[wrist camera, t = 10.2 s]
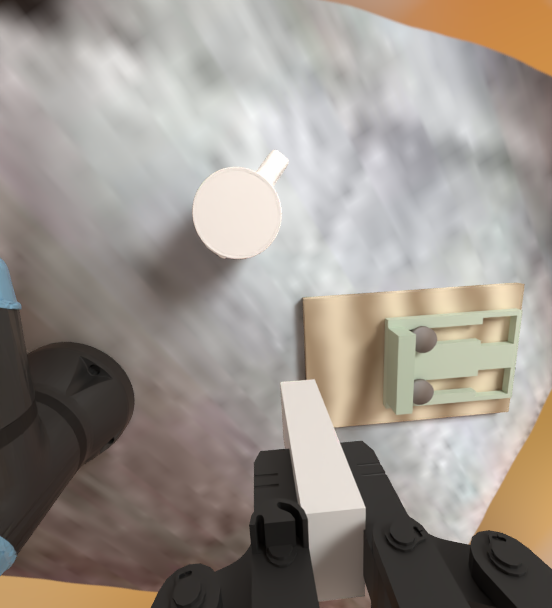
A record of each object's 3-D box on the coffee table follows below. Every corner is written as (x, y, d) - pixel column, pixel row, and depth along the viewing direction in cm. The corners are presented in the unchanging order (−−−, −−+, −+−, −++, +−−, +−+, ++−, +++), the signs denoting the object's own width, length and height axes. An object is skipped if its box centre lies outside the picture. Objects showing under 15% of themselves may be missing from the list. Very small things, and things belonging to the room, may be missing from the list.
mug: (242, 283, 30) (169, 231, 28) (245, 270, 39) (189, 230, 37) (322, 174, 28) (248, 112, 27) (306, 187, 37) (250, 141, 36)
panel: (382, 404, 43) (395, 422, 39) (385, 318, 40) (399, 327, 36) (505, 393, 43) (530, 410, 40) (516, 308, 41) (543, 316, 37)
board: (307, 424, 44) (312, 441, 41) (302, 297, 40) (307, 304, 36) (501, 407, 46) (523, 422, 42) (516, 282, 41) (541, 287, 38)
